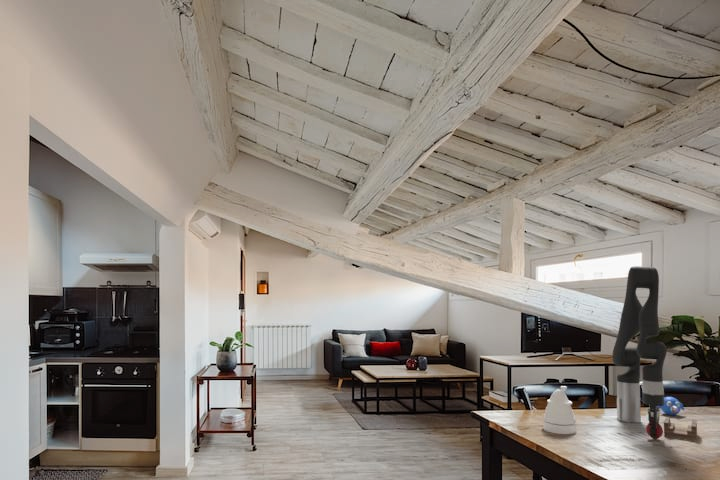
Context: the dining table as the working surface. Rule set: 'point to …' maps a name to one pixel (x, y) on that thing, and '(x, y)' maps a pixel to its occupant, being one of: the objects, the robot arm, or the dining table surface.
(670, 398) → the blue mole toy
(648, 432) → the pomegranate
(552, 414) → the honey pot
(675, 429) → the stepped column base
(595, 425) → the dining table surface
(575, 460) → the dining table surface
